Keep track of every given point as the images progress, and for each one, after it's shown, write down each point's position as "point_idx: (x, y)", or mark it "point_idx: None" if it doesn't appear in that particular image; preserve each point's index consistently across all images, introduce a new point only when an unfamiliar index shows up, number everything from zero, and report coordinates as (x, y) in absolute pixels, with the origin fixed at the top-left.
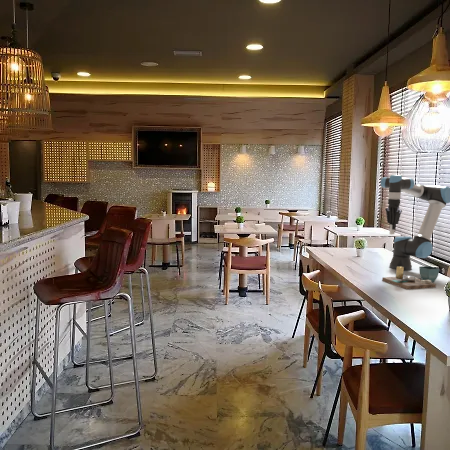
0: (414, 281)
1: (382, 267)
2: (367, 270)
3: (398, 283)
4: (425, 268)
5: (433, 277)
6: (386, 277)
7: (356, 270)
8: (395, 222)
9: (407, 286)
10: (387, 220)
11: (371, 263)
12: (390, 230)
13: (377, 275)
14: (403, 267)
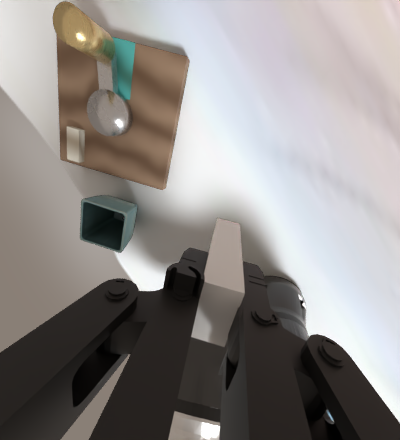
0: None
1: (311, 264)
2: (324, 171)
3: None
4: (97, 203)
5: (100, 212)
6: (180, 76)
7: (358, 125)
8: (87, 300)
9: None
10: (370, 400)
11: (372, 290)
12: (229, 238)
13: (251, 128)
14: (57, 33)
